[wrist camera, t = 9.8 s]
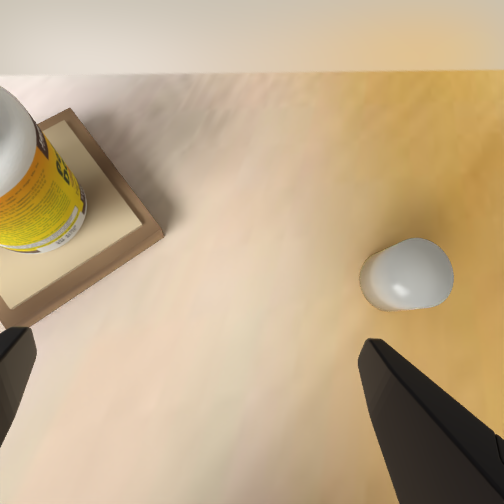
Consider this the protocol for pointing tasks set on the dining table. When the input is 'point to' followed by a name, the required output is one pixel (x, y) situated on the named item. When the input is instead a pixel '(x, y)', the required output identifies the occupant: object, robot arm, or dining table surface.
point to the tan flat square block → (85, 240)
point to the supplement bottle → (34, 186)
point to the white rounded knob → (407, 276)
